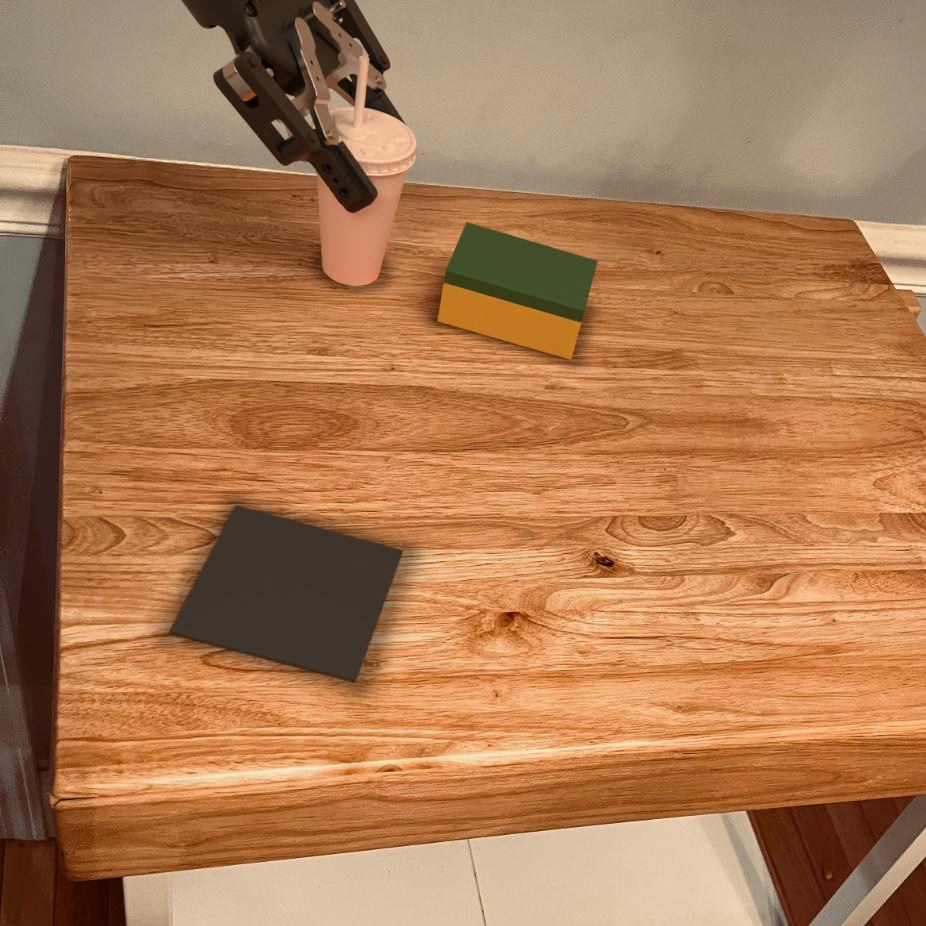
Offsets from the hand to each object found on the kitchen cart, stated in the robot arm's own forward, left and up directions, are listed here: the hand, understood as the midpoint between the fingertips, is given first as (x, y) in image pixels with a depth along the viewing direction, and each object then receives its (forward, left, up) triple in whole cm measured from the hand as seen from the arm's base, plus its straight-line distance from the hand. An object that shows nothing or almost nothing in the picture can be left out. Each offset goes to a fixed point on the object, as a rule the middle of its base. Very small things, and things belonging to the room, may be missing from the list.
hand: (385, 178), depth 73 cm
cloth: (+3, -28, -7) cm, 29 cm away
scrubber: (+9, 0, -7) cm, 12 cm away
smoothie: (-2, 0, -7) cm, 7 cm away
